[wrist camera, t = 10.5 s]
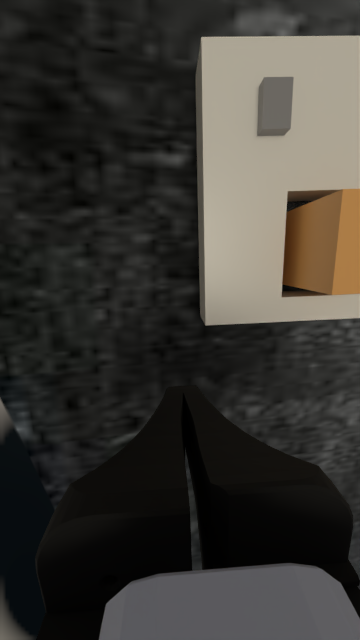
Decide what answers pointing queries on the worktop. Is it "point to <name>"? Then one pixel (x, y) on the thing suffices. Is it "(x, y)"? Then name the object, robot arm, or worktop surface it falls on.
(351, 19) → the worktop surface
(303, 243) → the plug
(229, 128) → the socket
